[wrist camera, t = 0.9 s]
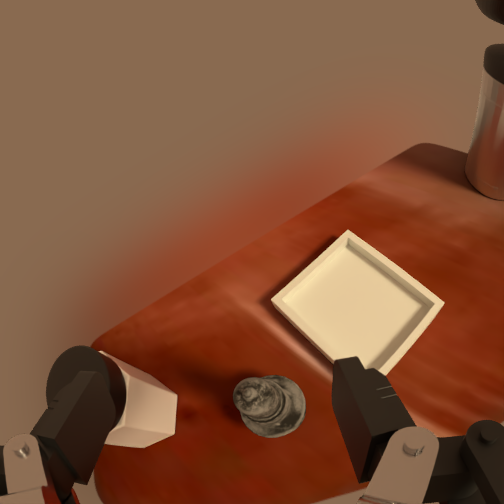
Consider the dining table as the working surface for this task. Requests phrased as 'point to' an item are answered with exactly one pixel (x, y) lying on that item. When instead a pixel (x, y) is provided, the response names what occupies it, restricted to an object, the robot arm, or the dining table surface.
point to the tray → (358, 305)
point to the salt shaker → (270, 405)
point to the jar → (121, 396)
